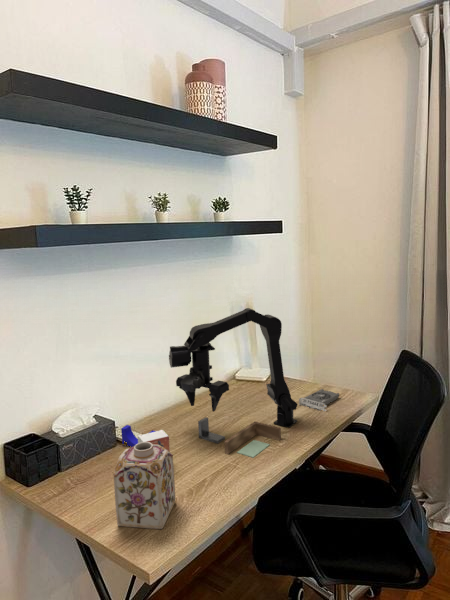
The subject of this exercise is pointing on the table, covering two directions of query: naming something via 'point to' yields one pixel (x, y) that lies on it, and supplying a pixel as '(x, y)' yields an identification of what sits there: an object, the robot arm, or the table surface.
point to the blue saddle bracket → (129, 436)
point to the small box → (156, 439)
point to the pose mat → (253, 448)
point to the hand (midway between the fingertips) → (203, 408)
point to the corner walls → (251, 435)
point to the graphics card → (318, 399)
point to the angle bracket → (205, 433)
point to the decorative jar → (144, 486)
